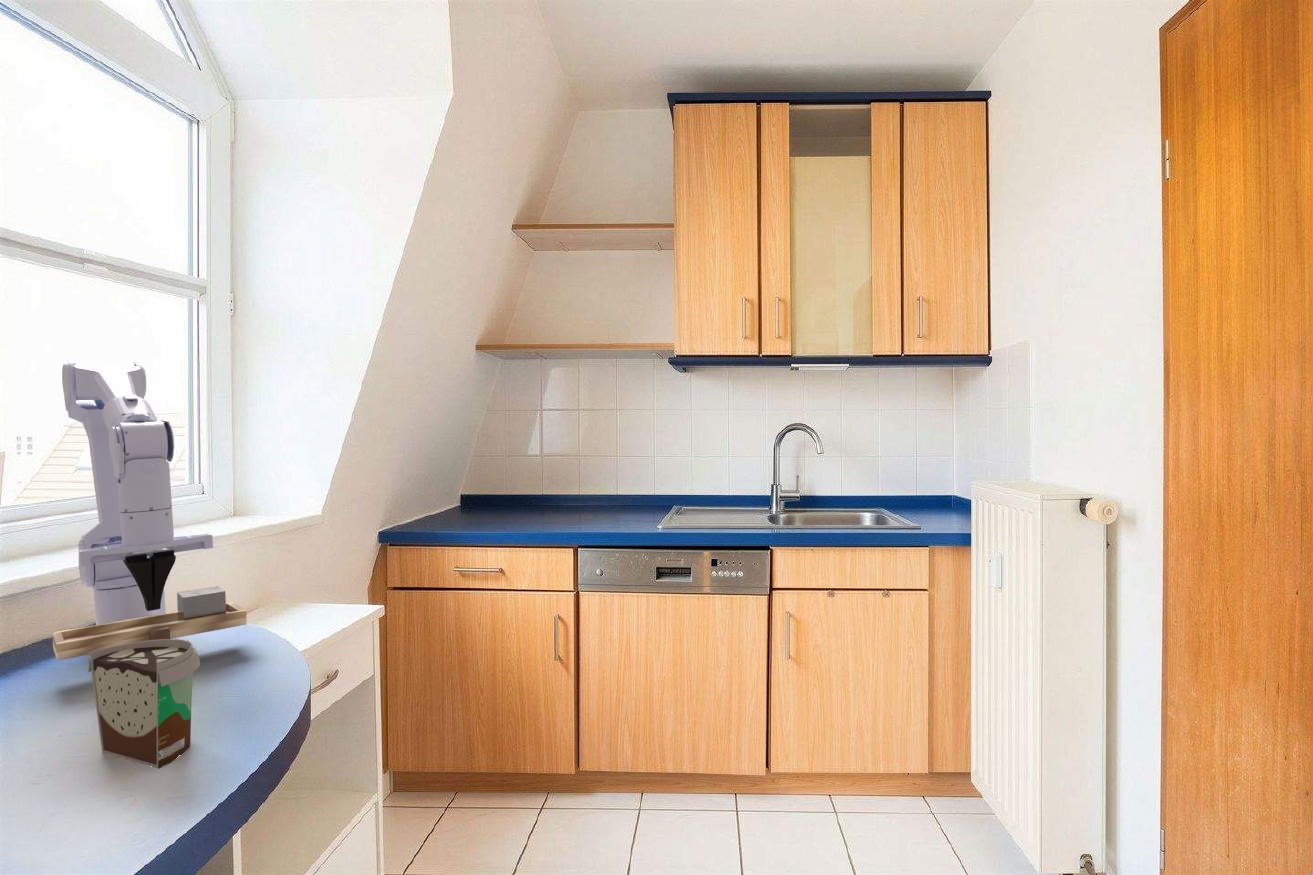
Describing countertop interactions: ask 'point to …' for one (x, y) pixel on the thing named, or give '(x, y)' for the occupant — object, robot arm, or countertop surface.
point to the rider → (201, 603)
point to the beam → (140, 631)
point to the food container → (144, 699)
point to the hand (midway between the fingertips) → (152, 608)
